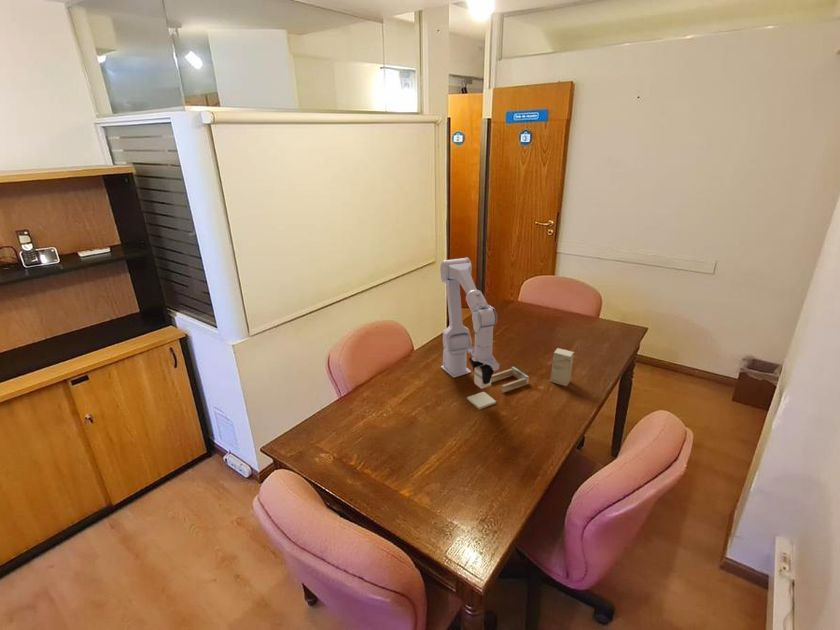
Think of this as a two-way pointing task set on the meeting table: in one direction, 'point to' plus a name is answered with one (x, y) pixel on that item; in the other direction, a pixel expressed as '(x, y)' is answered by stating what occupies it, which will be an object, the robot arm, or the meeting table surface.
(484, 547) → the meeting table surface
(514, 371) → the shelf bay
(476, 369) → the block
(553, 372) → the skincare box
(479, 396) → the stand tile
